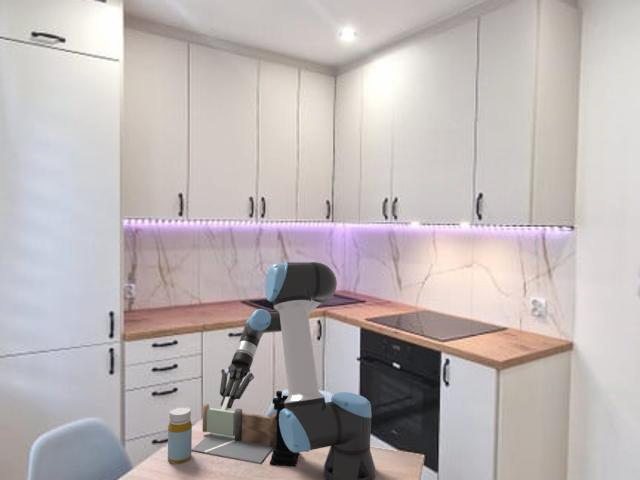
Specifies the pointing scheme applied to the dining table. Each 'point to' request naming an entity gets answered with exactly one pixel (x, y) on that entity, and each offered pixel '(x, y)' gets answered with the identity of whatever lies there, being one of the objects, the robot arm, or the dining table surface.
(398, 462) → the dining table surface
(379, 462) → the dining table surface
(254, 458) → the board
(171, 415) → the bottle
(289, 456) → the chess piece
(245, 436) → the walnut fence section
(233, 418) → the fence panel
